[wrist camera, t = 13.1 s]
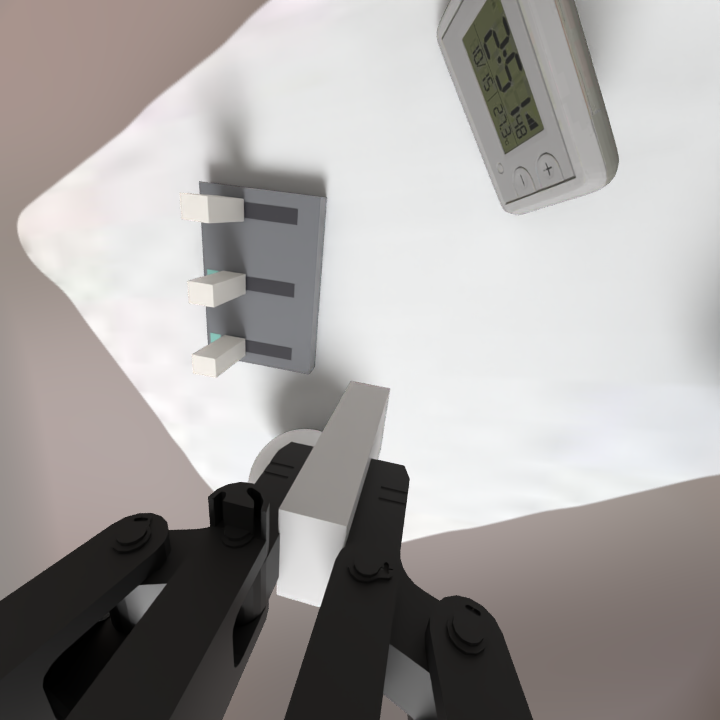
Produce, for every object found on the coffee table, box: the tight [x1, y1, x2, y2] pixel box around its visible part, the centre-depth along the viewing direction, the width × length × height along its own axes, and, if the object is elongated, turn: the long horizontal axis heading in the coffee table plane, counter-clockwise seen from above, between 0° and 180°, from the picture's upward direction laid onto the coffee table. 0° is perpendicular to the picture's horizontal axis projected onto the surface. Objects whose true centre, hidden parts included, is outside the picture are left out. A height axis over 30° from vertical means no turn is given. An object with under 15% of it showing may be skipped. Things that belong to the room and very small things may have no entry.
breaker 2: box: [192, 335, 245, 378], centre depth 37 cm, size 2×2×6 cm
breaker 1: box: [180, 193, 244, 223], centre depth 32 cm, size 2×2×6 cm
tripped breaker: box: [187, 271, 246, 308], centre depth 35 cm, size 2×2×6 cm
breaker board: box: [199, 181, 327, 374], centre depth 38 cm, size 12×18×2 cm, turn 173°
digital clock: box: [437, 0, 619, 215], centre depth 25 cm, size 16×9×11 cm, turn 17°
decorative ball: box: [248, 429, 322, 484], centre depth 41 cm, size 12×12×12 cm
